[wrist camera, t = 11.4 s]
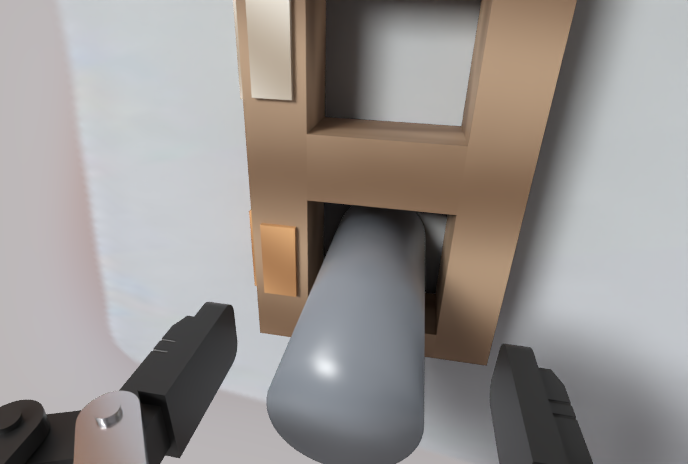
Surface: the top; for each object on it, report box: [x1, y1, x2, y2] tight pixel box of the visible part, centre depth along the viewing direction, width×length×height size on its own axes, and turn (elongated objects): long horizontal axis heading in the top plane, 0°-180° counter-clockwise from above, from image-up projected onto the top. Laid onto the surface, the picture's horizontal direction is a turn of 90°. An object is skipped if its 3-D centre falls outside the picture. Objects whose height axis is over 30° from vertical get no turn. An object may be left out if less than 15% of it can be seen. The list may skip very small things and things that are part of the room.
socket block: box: [233, 0, 577, 366], centre depth 16 cm, size 16×10×3 cm, turn 178°
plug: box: [267, 205, 425, 464], centre depth 15 cm, size 4×4×10 cm
